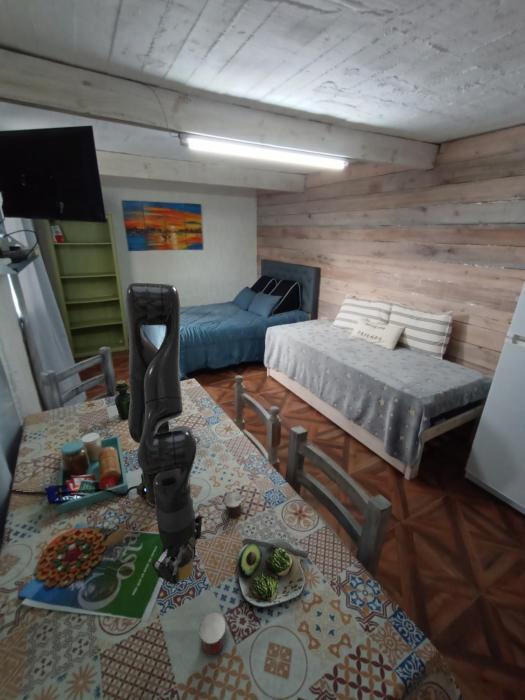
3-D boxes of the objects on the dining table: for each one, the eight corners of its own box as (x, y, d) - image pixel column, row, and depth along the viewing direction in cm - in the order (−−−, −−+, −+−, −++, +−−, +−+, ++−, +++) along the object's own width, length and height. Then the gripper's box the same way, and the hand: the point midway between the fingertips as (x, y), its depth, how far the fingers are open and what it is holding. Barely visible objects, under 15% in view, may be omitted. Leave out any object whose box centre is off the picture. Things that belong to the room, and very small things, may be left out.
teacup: (161, 453, 125) (158, 436, 122) (177, 437, 134) (176, 421, 131) (191, 462, 120) (189, 445, 117) (206, 445, 130) (204, 429, 127)
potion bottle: (139, 412, 153) (134, 378, 146) (129, 421, 145) (123, 387, 139) (124, 410, 154) (118, 377, 148) (114, 419, 147) (107, 385, 140)
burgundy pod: (195, 648, 67) (193, 634, 66) (210, 621, 72) (208, 607, 70) (217, 663, 65) (216, 649, 63) (231, 633, 70) (230, 619, 68)
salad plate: (298, 532, 93) (298, 520, 91) (322, 596, 77) (323, 584, 75) (232, 545, 89) (232, 534, 87) (243, 617, 73) (243, 604, 71)
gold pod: (164, 575, 71) (162, 560, 69) (180, 554, 75) (179, 539, 74) (184, 587, 69) (182, 572, 67) (200, 564, 73) (198, 549, 71)
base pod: (221, 514, 99) (220, 502, 97) (230, 501, 103) (230, 489, 101) (237, 521, 96) (236, 509, 95) (245, 507, 101) (245, 495, 99)
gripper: (183, 484, 73) (189, 536, 79) (135, 535, 61) (146, 591, 67) (210, 496, 70) (214, 548, 76) (166, 552, 58) (174, 609, 64)
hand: (182, 568), depth 72 cm, fingers closed on gold pod, 5 cm apart
